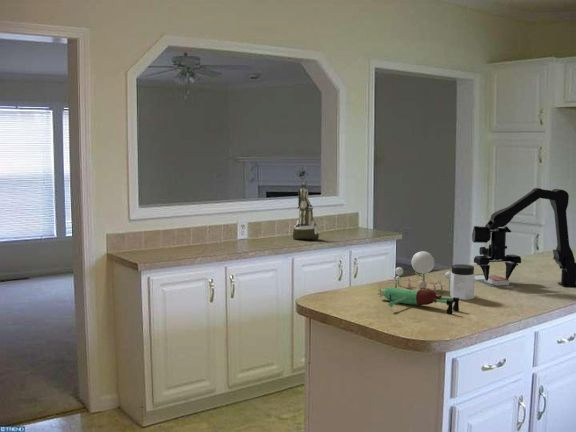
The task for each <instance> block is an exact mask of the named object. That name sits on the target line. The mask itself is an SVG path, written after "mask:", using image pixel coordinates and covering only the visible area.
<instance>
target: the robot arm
mask: <svg viewBox="0 0 576 432" xmlns="http://www.w3.org/2000/svg"><path fill="white" fill-rule="evenodd" d="M569 197H570V196H569V192H568V191H566V190H564V189H559V188H553V189H552V190H551V189H550V190H549V189H542V188H540V187H539V188H538V187H534V188H533V189H531V191H529V192H528V193H526V194H524V196H521V198H519V199H517V200H516V201H515V202H512V203H511V205H509V206H507V207H504V208H501V209H499V210H498V211H494V212H493V213H492V214H491V215H490V220H488V222H487V223H486V224H485V226H480V225H479V226H478V225H474V226H473V229H472V233H471V240H472V243H473V244H474V243H476V244H477V243H478V244H479V243H480V244H481V243H482V244H483V243H486V244H487V243H488V242H490V243H489V245H488V247H487V248H486V246H480V247H479V249H478V251H479V252H478V253H479V255H475V257H474V258H473V263H474V264H476V265H477V266H479V267H480V268H481V270H482V274H484V277H485V280H486V281H488V278H489V275H490V268H491V266H490V263H499V262H500V263H501V262H502V263H503V262H504V264H505V279H508V280H510V279H509V278H510V277H511V275H512V273H513V271H514V270H515V269H516V267H517V266H519V264H522V257H521V256H520V255H518V254H517V255H516V254H506V249H508V246H507V245H506V242H507V241H506V240H507V233H511V232H512V230H511V229H510V228H509V227H508V224H509V223H510V222H511V221H512V220H513V218H514V217H515V216H516V215H518V214H519V213H520V212H522V211H523V210H524V209H526V208H528V207H529V206H530V205H532V204H533V203H535V202H537V201H538V200H539V199H543V200H544V199H545V200H549V203H550V205H551V207H552V210H553V213H554V214H553V215H554V225H555V234H556V243H557V245H556V249H552V253H553V259H552V260H554V261H555V263H556V264H557V265H558V266H559V269H560V270H561V278H560V282H559V281H558V282H557V284H558V285H560V286H562V287H565V288H566V287H567V288H575V287H576V259H575V255H574V252H573V250H572V249H571V246H570V238H569V229H568V228H569V227H568V218H567V209H568V206H569V201H570V199H569Z"/></svg>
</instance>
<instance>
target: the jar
mask: <svg viewBox="0 0 576 432" xmlns="http://www.w3.org/2000/svg"><path fill="white" fill-rule="evenodd" d="M475 281H476V280H475V266H474V265H471V264H464V263H463V264H462V263H459V264H452V265H451V280H450V290H449V291H450V292H449V296H450V298H453V297H455V298H459V301H460V300H461V301H467V300H473V299H474V298H475Z"/></svg>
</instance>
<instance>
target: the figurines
mask: <svg viewBox="0 0 576 432" xmlns="http://www.w3.org/2000/svg"><path fill="white" fill-rule="evenodd" d="M410 262H411V266H412V268H413V270H414V271H415V272H414V274H415V275H416V276H419V277H421V278H422V280H420V281H418V283H417V284H418V288H419V289H427V284H428V283H427V281H425V280H426V279H425V274H428V273H430V272H431V271H432V270H433V269H434V266H435V259H434V257H433V256H432V253H429V252H428V251H423V250H422V251H418V252H416V253H415V254H413V256H412V259H411V261H410ZM451 272H452V270H451V271H450V270H449V271H446V272H445V274H444V276H445V278H446V280H449V281H448V282H449V285H448V291H450V280H451ZM394 273H395V275H397V276H393V279H394V280H395V285H394V288H398V286H400V284H401V283H400V281H401V277H400V276H402V275H403V274H404V269H403V268H402V267H401V266H400V267H396V268H395V270H394ZM412 279H413V277H409V278H407V280H408V282H407V287H410V290H413V283H411V280H412ZM429 283H430V284H431V285H433V291H434V292H435V293H436V291H437V289H436V288H437V287H436V285H440V294H443V291H444V290H443V283H444V280H443V279H438V282H429Z"/></svg>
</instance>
